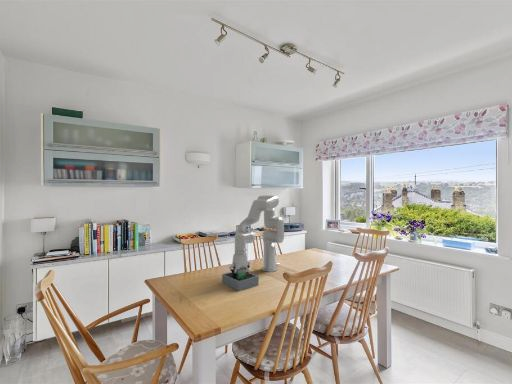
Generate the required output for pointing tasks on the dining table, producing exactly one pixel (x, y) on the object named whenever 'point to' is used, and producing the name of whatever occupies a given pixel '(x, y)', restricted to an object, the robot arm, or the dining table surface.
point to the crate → (239, 285)
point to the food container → (242, 274)
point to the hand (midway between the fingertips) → (240, 277)
